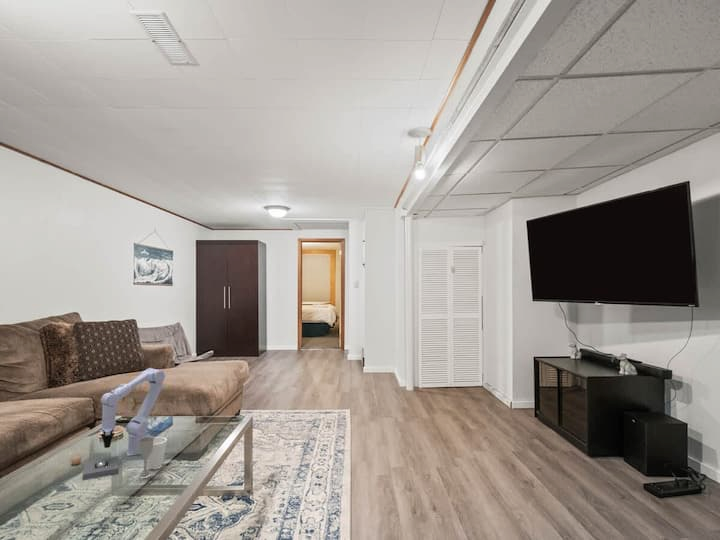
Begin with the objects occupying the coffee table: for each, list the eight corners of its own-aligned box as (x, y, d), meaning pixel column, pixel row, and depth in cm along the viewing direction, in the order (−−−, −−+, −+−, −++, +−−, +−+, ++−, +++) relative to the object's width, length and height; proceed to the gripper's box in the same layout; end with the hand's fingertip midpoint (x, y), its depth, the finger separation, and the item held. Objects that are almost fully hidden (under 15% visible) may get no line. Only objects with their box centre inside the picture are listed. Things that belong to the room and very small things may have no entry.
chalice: (156, 474, 195) (158, 437, 196) (144, 481, 189) (146, 442, 189) (144, 471, 198) (146, 434, 198) (132, 477, 191) (134, 439, 192)
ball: (81, 461, 205) (81, 453, 205) (80, 465, 201) (80, 456, 201) (71, 463, 203) (71, 455, 203) (70, 466, 199) (71, 458, 199)
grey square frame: (118, 461, 207) (118, 456, 207) (117, 473, 195) (118, 468, 195) (84, 466, 200) (85, 461, 200) (82, 479, 188) (82, 474, 188)
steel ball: (105, 467, 200) (106, 459, 200) (105, 471, 196) (105, 462, 196) (96, 469, 198) (96, 461, 198) (95, 473, 194) (95, 464, 194)
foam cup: (156, 472, 197) (158, 445, 197) (140, 470, 199) (141, 443, 199) (169, 463, 207) (170, 438, 207) (153, 461, 208) (154, 435, 209)
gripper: (100, 413, 209) (98, 440, 209) (98, 423, 196) (97, 451, 196) (116, 411, 212) (114, 438, 212) (115, 421, 200) (114, 449, 200)
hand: (107, 444), depth 204 cm, fingers open, 7 cm apart
